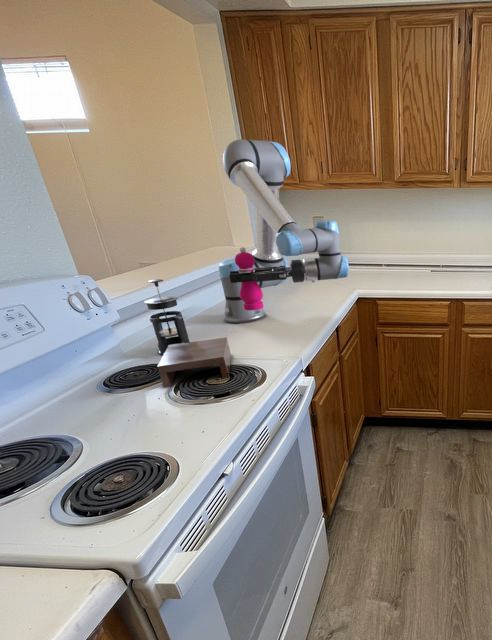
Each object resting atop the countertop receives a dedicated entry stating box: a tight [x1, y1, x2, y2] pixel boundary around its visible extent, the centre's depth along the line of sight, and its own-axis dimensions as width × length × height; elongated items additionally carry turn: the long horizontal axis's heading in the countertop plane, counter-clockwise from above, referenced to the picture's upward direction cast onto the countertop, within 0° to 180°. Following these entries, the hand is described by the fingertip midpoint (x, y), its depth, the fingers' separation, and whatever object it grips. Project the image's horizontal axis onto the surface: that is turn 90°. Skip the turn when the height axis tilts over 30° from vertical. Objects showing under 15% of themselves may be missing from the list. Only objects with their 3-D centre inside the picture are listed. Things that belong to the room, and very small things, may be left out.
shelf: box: [156, 337, 232, 388], centre depth 119 cm, size 18×16×6 cm
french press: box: [144, 278, 190, 356], centre depth 132 cm, size 12×9×23 cm
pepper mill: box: [234, 247, 264, 310], centre depth 138 cm, size 7×7×20 cm
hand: (230, 277), depth 136 cm, fingers closed on pepper mill, 5 cm apart
